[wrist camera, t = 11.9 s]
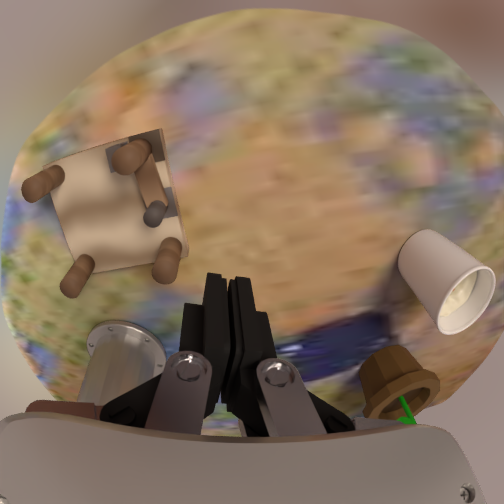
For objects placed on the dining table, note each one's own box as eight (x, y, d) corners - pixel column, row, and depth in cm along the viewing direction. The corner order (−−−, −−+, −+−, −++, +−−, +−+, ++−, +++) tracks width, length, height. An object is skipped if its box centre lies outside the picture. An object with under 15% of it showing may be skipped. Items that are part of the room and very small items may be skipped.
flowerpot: (334, 388, 52) (382, 530, 25) (374, 333, 46) (455, 493, 19) (390, 387, 55) (442, 505, 29) (429, 338, 49) (505, 463, 23)
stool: (190, 248, 35) (184, 284, 29) (86, 266, 35) (64, 302, 28) (162, 127, 28) (146, 135, 22) (50, 161, 28) (15, 179, 22)
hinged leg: (173, 209, 31) (164, 231, 26) (152, 216, 31) (140, 238, 26) (148, 135, 27) (133, 142, 22) (126, 143, 27) (107, 152, 22)
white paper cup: (405, 219, 36) (461, 264, 26) (453, 228, 38) (505, 269, 27) (383, 282, 41) (424, 338, 30) (431, 284, 42) (472, 332, 32)
